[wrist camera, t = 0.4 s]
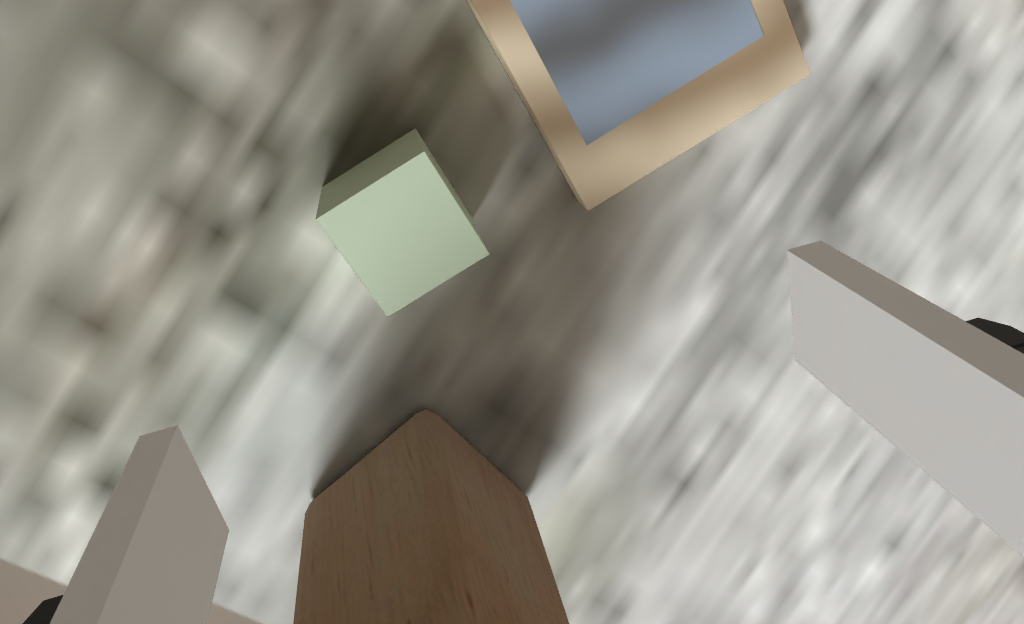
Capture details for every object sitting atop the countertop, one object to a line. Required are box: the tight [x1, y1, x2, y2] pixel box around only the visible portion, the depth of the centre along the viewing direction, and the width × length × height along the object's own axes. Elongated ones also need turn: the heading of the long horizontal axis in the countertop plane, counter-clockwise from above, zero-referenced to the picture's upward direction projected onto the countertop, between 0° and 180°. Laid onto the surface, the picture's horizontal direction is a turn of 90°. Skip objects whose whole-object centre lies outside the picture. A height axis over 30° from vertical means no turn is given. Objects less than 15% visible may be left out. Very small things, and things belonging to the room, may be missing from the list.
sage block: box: [316, 128, 489, 317], centre depth 37 cm, size 6×6×6 cm
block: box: [293, 409, 569, 624], centre depth 37 cm, size 10×10×20 cm
